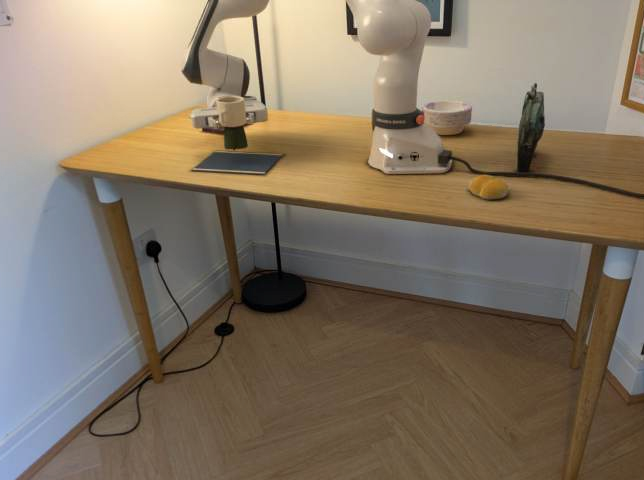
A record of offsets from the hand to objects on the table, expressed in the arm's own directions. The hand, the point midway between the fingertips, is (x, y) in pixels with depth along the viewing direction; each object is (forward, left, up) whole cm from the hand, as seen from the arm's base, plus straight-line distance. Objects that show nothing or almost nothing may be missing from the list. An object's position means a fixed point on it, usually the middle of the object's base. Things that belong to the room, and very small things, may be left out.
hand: (233, 123), depth 147 cm
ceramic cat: (-77, -12, -11) cm, 78 cm away
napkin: (0, -1, -11) cm, 11 cm away
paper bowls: (-53, -37, -11) cm, 66 cm away
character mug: (0, -1, -7) cm, 7 cm away
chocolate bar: (+16, -34, -11) cm, 40 cm away
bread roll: (-67, +11, -11) cm, 68 cm away
